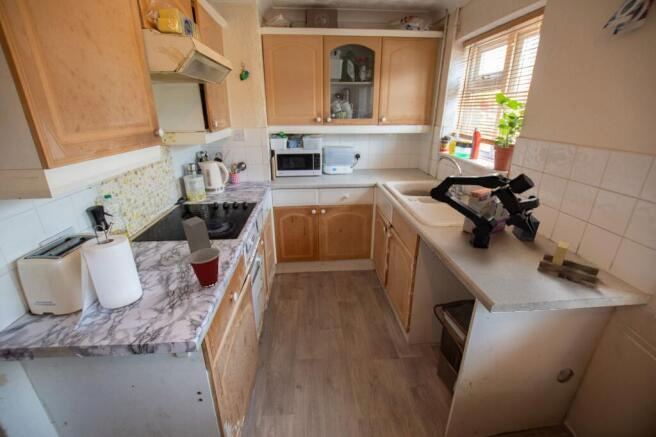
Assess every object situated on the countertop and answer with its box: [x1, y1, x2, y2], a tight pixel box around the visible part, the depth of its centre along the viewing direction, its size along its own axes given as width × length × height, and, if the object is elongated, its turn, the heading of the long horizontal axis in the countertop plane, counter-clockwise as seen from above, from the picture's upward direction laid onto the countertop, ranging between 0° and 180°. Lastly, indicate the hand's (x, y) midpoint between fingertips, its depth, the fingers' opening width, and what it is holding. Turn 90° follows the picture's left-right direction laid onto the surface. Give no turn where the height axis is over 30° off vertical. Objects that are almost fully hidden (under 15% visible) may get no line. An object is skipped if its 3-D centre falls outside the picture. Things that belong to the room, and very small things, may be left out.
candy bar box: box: [488, 198, 509, 234], centre depth 146 cm, size 11×5×16 cm, turn 117°
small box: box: [511, 214, 541, 243], centre depth 140 cm, size 11×6×10 cm, turn 168°
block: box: [552, 240, 570, 266], centre depth 112 cm, size 3×6×9 cm, turn 135°
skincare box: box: [181, 216, 212, 254], centre depth 122 cm, size 8×7×16 cm
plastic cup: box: [186, 247, 221, 287], centre depth 103 cm, size 11×11×12 cm
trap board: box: [536, 252, 600, 289], centre depth 112 cm, size 17×11×4 cm, turn 45°
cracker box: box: [462, 187, 497, 235], centre depth 145 cm, size 14×6×21 cm, turn 119°
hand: (532, 232), depth 117 cm, fingers open, 3 cm apart
